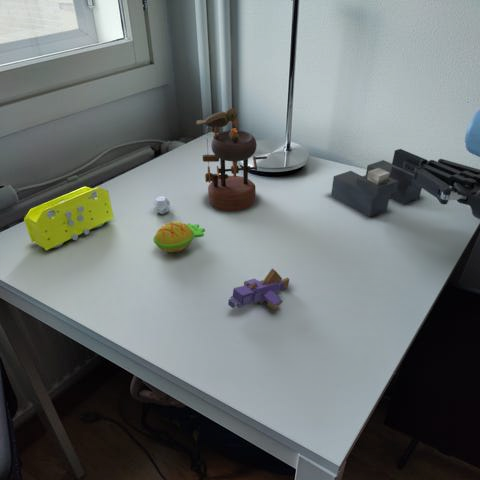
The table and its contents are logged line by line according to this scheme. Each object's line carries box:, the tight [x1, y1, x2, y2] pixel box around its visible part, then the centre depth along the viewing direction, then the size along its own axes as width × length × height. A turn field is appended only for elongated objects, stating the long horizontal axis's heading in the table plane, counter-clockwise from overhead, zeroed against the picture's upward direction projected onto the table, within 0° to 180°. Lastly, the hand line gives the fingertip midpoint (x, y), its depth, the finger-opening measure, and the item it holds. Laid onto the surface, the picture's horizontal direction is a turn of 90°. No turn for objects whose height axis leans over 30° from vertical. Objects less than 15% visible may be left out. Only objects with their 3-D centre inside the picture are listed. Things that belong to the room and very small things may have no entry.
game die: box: [152, 195, 171, 215], centre depth 99 cm, size 4×4×3 cm
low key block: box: [365, 159, 423, 205], centre depth 104 cm, size 13×6×7 cm, turn 34°
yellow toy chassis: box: [23, 186, 115, 251], centre depth 90 cm, size 16×6×8 cm, turn 140°
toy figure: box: [227, 268, 290, 311], centre depth 75 cm, size 12×8×5 cm
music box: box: [195, 107, 268, 212], centre depth 98 cm, size 15×11×20 cm
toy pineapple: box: [152, 221, 206, 253], centre depth 87 cm, size 7×10×5 cm
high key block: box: [330, 170, 398, 218], centre depth 99 cm, size 13×6×7 cm, turn 34°
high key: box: [367, 168, 390, 185], centre depth 94 cm, size 3×3×2 cm
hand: (396, 156), depth 89 cm, fingers closed
